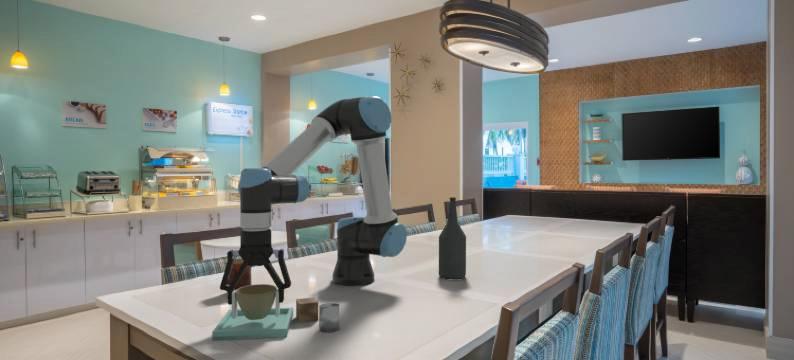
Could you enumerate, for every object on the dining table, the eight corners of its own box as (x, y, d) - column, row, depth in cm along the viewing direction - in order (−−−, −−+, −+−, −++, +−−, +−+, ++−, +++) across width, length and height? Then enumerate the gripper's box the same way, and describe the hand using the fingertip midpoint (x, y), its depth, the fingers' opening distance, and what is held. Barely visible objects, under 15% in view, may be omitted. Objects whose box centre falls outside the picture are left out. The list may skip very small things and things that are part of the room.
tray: (293, 314, 125) (293, 307, 125) (286, 337, 108) (286, 328, 108) (229, 317, 123) (229, 309, 123) (212, 340, 106) (212, 331, 106)
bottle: (470, 276, 172) (470, 197, 171) (459, 281, 163) (459, 198, 163) (445, 272, 177) (446, 196, 176) (433, 277, 169) (434, 197, 168)
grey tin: (339, 325, 116) (339, 302, 116) (339, 332, 111) (339, 308, 111) (319, 326, 116) (319, 303, 116) (318, 333, 111) (318, 309, 111)
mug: (234, 288, 153) (234, 257, 153) (258, 289, 151) (258, 259, 151) (213, 297, 141) (213, 265, 141) (239, 299, 139) (239, 266, 139)
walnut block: (314, 315, 125) (314, 297, 125) (318, 320, 120) (318, 302, 120) (296, 317, 123) (296, 299, 123) (299, 323, 118) (299, 304, 118)
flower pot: (241, 311, 120) (241, 284, 120) (279, 310, 121) (279, 283, 121) (230, 324, 110) (230, 294, 110) (272, 323, 111) (272, 294, 111)
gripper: (302, 226, 120) (302, 309, 121) (213, 227, 117) (214, 313, 118) (300, 230, 113) (300, 318, 113) (205, 231, 110) (205, 322, 110)
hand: (256, 316), depth 116 cm, fingers closed on flower pot, 10 cm apart
